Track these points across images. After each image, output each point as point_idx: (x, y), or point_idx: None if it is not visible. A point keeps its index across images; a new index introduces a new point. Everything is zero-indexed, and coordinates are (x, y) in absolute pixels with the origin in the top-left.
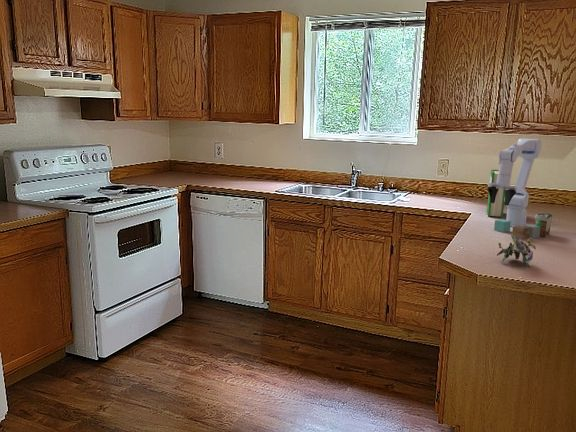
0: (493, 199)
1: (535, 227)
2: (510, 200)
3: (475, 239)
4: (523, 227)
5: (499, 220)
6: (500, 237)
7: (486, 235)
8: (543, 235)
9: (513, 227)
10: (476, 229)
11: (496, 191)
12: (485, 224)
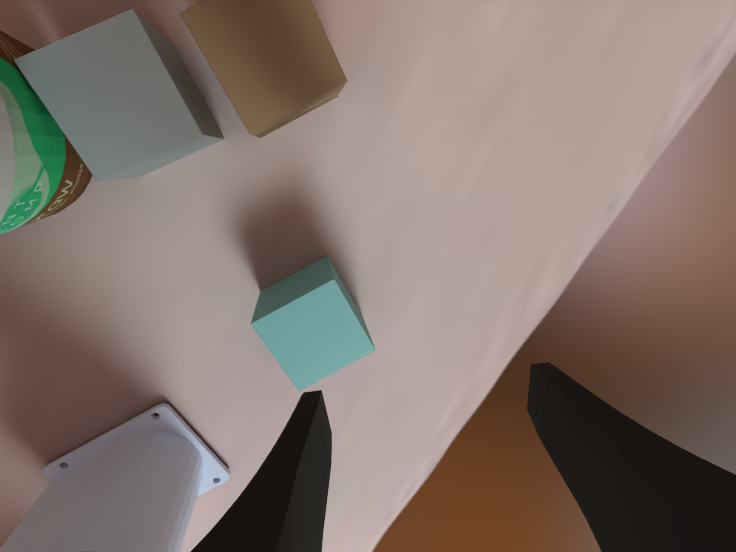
0: (587, 391)
1: (101, 22)
2: (274, 446)
3: (641, 21)
4: (254, 23)
5: (345, 338)
6: (432, 84)
7: (498, 150)
8: None
9: (342, 74)
10: (468, 321)
11: (713, 502)
12: (340, 459)
